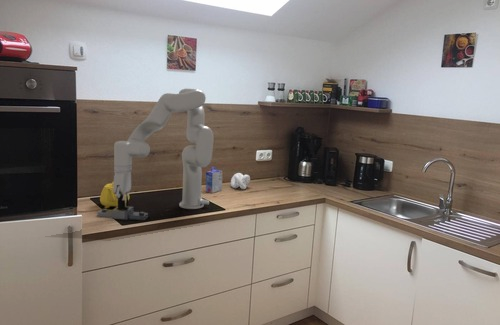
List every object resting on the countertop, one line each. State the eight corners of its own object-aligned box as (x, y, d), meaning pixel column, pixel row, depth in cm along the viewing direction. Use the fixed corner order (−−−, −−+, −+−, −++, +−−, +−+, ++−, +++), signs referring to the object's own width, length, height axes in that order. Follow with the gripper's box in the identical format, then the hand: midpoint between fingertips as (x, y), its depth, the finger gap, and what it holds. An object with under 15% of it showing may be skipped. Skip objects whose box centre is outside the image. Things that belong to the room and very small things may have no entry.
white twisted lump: (244, 185, 267) (245, 171, 265) (253, 189, 257) (254, 175, 255) (228, 186, 262) (229, 172, 260) (237, 191, 251) (238, 176, 250)
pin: (127, 211, 194) (127, 191, 192) (124, 213, 191) (124, 192, 189) (121, 211, 195) (121, 190, 193) (118, 213, 192) (118, 192, 190)
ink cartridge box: (215, 188, 254) (215, 165, 252) (222, 190, 252) (223, 166, 249) (204, 191, 246) (205, 167, 244) (212, 193, 243) (213, 169, 241)
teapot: (94, 211, 198) (93, 186, 196) (107, 200, 218) (107, 177, 215) (122, 213, 198) (122, 187, 196) (133, 201, 218) (133, 178, 216)
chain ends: (148, 216, 196) (149, 208, 195) (143, 221, 189) (143, 212, 188) (103, 212, 198) (103, 204, 197) (96, 216, 191) (96, 208, 190)
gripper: (122, 164, 197) (122, 201, 201) (107, 171, 181) (107, 211, 185) (137, 165, 197) (137, 203, 200) (123, 172, 181) (123, 213, 184)
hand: (123, 207), depth 192 cm, fingers closed on pin, 3 cm apart
